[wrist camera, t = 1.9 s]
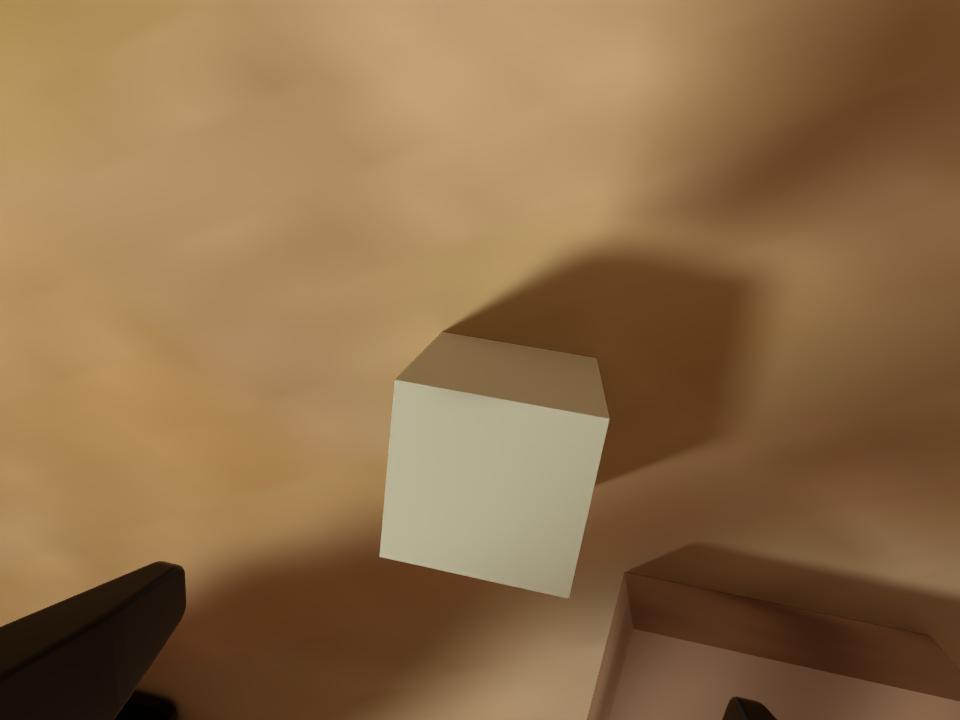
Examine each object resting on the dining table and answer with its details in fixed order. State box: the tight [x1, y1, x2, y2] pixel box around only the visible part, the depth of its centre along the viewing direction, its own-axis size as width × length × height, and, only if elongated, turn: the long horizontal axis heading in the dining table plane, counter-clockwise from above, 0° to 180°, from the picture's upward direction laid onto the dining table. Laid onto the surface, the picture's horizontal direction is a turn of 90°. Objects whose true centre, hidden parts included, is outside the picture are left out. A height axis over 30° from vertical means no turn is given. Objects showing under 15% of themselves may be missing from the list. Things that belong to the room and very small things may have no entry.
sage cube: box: [379, 332, 610, 599], centre depth 15 cm, size 5×5×5 cm
